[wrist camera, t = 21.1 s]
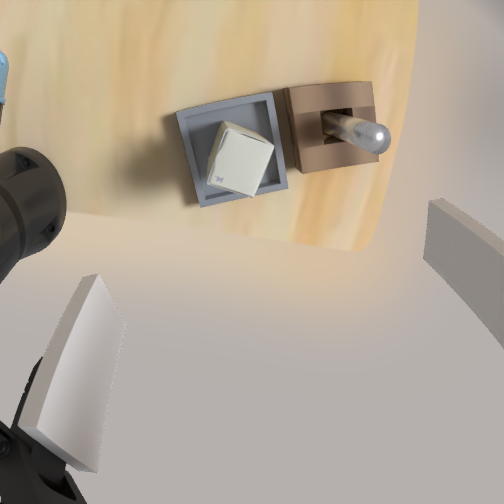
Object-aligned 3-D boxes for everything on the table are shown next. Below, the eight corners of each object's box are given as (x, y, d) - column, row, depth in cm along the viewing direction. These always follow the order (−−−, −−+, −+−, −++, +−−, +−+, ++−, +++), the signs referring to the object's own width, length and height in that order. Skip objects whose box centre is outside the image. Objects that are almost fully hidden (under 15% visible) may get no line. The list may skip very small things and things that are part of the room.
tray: (201, 201, 37) (200, 207, 35) (177, 111, 31) (175, 112, 30) (284, 183, 37) (288, 188, 36) (268, 92, 31) (272, 92, 30)
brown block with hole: (296, 167, 36) (302, 174, 34) (283, 88, 31) (289, 88, 29) (368, 156, 36) (378, 161, 34) (360, 81, 31) (371, 81, 29)
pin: (320, 135, 35) (364, 155, 24) (318, 113, 33) (362, 124, 23) (341, 132, 35) (391, 153, 24) (339, 111, 33) (390, 123, 23)
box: (241, 170, 35) (252, 202, 26) (206, 159, 34) (203, 187, 24) (257, 129, 33) (276, 145, 23) (222, 117, 32) (226, 127, 22)
